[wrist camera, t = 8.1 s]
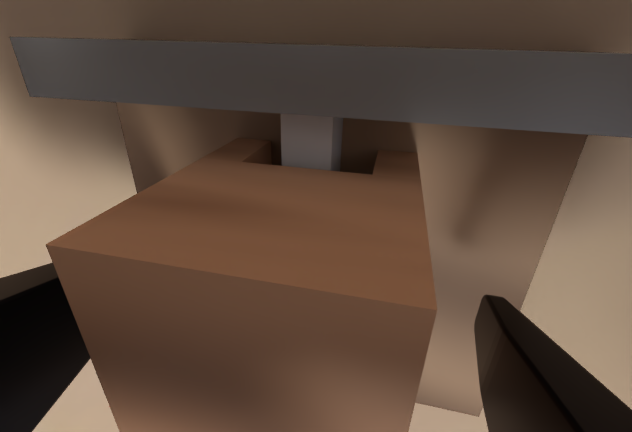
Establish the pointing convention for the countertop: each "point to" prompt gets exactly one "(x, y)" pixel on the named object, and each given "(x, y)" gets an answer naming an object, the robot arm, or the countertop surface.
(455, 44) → the countertop surface
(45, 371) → the robot arm
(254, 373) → the tan cube
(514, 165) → the board
